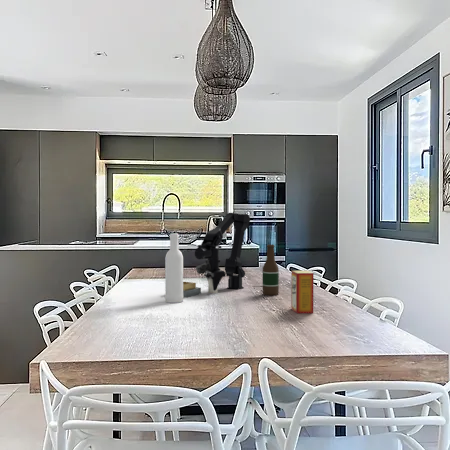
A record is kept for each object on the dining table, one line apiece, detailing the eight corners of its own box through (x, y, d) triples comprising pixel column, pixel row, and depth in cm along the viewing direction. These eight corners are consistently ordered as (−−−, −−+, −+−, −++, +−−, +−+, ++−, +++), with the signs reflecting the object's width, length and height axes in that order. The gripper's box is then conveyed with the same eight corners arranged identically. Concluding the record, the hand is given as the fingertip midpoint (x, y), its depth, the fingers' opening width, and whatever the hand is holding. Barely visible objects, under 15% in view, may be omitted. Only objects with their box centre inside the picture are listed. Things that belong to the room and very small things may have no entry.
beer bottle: (277, 296, 229) (278, 245, 228) (261, 295, 230) (261, 245, 230) (279, 293, 236) (279, 244, 236) (263, 292, 238) (263, 244, 237)
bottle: (185, 300, 217) (185, 233, 216) (179, 303, 209) (179, 233, 209) (169, 299, 219) (169, 233, 218) (162, 302, 211) (162, 233, 211)
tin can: (219, 292, 239) (219, 277, 239) (214, 293, 235) (214, 278, 235) (211, 291, 241) (211, 276, 241) (206, 293, 237) (206, 278, 237)
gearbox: (200, 293, 235) (200, 282, 235) (185, 297, 225) (185, 285, 224) (177, 291, 242) (177, 280, 242) (161, 294, 232) (161, 283, 232)
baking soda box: (291, 308, 198) (291, 269, 197) (307, 308, 198) (307, 269, 198) (296, 313, 188) (297, 272, 188) (313, 313, 189) (313, 272, 189)
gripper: (191, 256, 243) (191, 288, 244) (204, 260, 226) (204, 293, 226) (212, 256, 248) (212, 286, 248) (226, 259, 230) (226, 292, 231)
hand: (212, 289), depth 238 cm, fingers closed on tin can, 4 cm apart
